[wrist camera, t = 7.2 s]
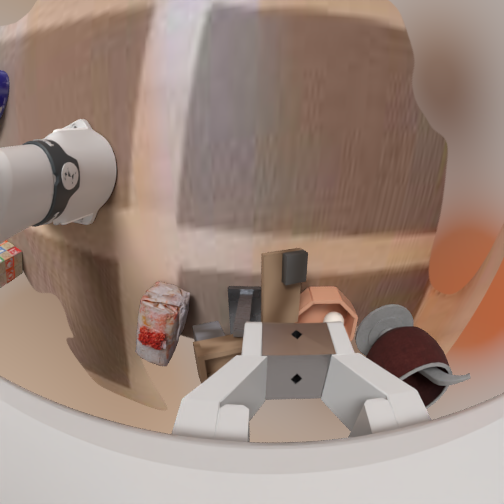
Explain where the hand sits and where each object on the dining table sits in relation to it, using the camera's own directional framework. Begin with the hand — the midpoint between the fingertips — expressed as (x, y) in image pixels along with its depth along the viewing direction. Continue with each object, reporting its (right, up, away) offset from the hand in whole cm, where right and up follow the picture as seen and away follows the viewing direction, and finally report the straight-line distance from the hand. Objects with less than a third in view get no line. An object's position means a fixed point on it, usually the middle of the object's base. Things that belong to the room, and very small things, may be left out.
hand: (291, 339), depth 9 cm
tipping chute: (-4, -4, +33) cm, 34 cm away
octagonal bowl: (+10, -8, +39) cm, 41 cm away
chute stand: (-2, -8, +39) cm, 40 cm away
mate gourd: (+25, -12, +39) cm, 48 cm away
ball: (+12, -9, +36) cm, 40 cm away
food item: (-16, -8, +41) cm, 44 cm away
